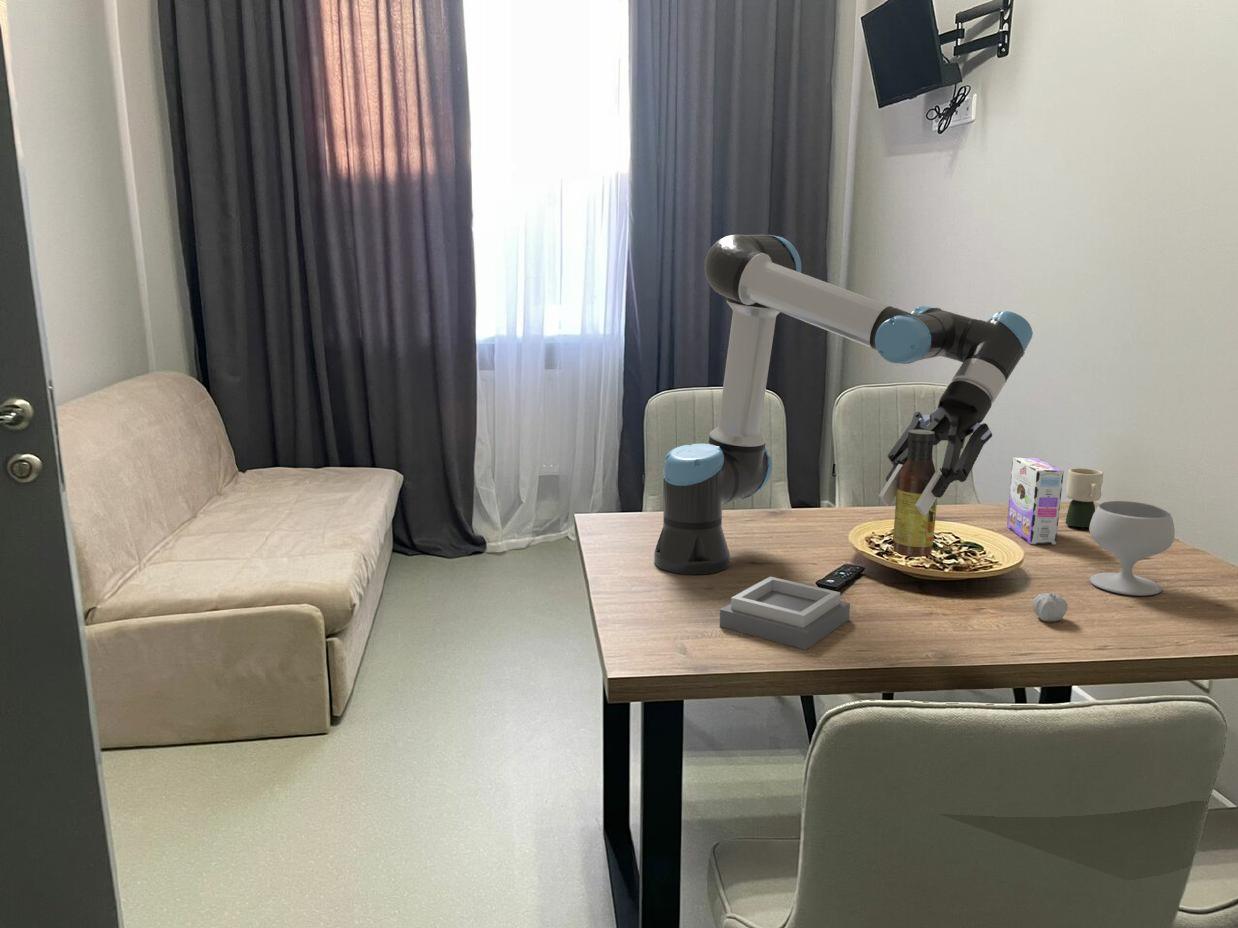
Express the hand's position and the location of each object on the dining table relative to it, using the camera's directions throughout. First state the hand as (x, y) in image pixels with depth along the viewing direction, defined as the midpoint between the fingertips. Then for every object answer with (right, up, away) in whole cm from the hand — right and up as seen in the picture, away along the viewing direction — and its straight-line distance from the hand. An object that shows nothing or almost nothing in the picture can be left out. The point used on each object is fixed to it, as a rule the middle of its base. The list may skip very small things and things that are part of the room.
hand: (901, 505), depth 152 cm
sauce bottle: (+3, -8, +4) cm, 9 cm away
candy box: (+46, -10, +61) cm, 77 cm away
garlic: (+29, -20, +13) cm, 38 cm away
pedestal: (-16, -20, +12) cm, 29 cm away
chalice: (+50, -17, +29) cm, 61 cm away
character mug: (+60, -8, +67) cm, 91 cm away
